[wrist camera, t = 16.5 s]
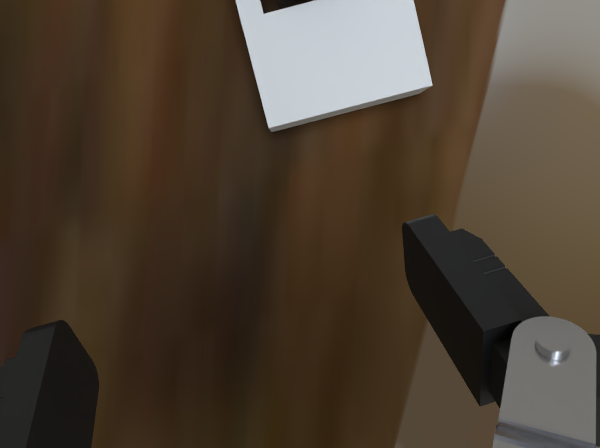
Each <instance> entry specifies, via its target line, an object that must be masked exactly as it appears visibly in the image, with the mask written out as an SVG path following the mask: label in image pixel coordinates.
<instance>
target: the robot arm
mask: <svg viewBox="0 0 600 448" xmlns="http://www.w3.org/2000/svg"><path fill="white" fill-rule="evenodd" d="M402 234H403V247H404V260H405V271H406V277H407V281H408V284H409V287H410V289H411V292H412V294H413V296H414V297H415V299H416V301H417V302H418V304H419V306H420V307H421V309H422V311H423V312H424V314H425V316H426V317H427V319H428V321H429V322H430V324H431V326H432V327H433V329H434V331H435V332H436V334H437V336H438V337H439V339H440V341H441V342H442V344H443V346H444V347H445V349H446V351H447V352H448V354H449V356H450V357H451V359H452V361H453V363H454V364H455V366H456V367H457V369H458V371H459V372H460V374H461V376H462V378H463V379H464V381H465V383H466V384H467V386H468V388H469V389H470V391H471V393H472V394H473V396H474V398H475V399H476V401H477V403H478V404H479V406H483V405H486V404H489V403H492V402H495V401H496V403H497V405H498V406H499V408H500V414H499V420H498V425H497V426H496V431H495V436H494V442H493V448H596V446H598V447H599V446H600V335H593V334H587V333H586V332H585V331H583V329H581V328H580V327H578V326H577V325H575V324H573V323H571V322H569V321H566V320H563V319H560V318H556V317H550V316H549V315H548V314H547V313H546V312H545V311H544V309H543V308H542V307H541V306H540V305H539V304H538V303H537V301H536V300H535V299H534V298H533V297H532V296H531V295H530V294H529V292H528V291H527V290H526V289H525V288H524V287H523V286H522V285H521V283H520V282H519V281H518V280H517V279H516V278H515V277H514V275H513V274H512V273H511V272H510V271H509V270H508V269H506V268H505V265H504V264H503V263H502V262H501V261H500V260H499V258H498V257H495V255H494V253H493V252H492V250H491V249H490V248H489V247H488V246H487V245H486V244H485V242H484V241H483V240H482V239H481V238H479V237H477V236H475V235H473V234H471V233H469V232H467V231H465V230H464V229H459V230H456V231H452V232H450V231H449V230H448V229H447V228H446V226H445V225H444V224H443V223H442V222H441V220H440V219H439V218H438V217H437V216H436V215H434V214H432V215H429V216H425V217H422V218H418V219H415V220H411V221H408V222H404V223H403V226H402ZM98 391H99V379H98V374H97V370H96V367H95V365H94V362H93V361H92V359H91V358H90V356H89V355H88V353H87V352H86V350H85V349H84V347H83V346H82V344H81V343H80V341H79V340H78V338H77V337H76V335H75V334H74V332H73V331H72V329H71V328H70V326H69V325H68V324H67V323H66V322H65V321H63V320H59V321H56V322H52V323H49V324H45V325H42V326H38V327H35V328H31V329H28V330H26V331H25V333H24V335H23V337H22V340H21V344H20V347H19V350H18V353H17V356H16V357H14V358H10V359H7V361H6V362H5V363H4V365H3V366H2V367H1V369H0V448H91V444H92V437H93V429H94V421H95V414H96V406H97V398H98Z"/></svg>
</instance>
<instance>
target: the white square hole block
mask: <svg viewBox="0 0 600 448" xmlns="http://www.w3.org/2000/svg"><path fill="white" fill-rule="evenodd" d="M236 4H237V8H238V12H239V16H240V20H241V24H242V27H243V31H244V35H245V39H246V43H247V47H248V50H249V54H250V58H251V62H252V66H253V70H254V73H255V77H256V81H257V85H258V89H259V93H260V97H261V100H262V104H263V108H264V112H265V116H266V120H267V123H268V127H269V129H270V131H271V132H275V131H279V130H282V129H286V128H290V127H294V126H298V125H302V124H305V123H309V122H313V121H317V120H321V119H325V118H328V117H332V116H336V115H340V114H344V113H348V112H351V111H355V110H359V109H363V108H367V107H371V106H374V105H378V104H382V103H386V102H390V101H394V100H397V99H401V98H405V97H409V96H413V95H417V94H420V93H421V92H423V91H424V90H426V89H427V88H429V87H431V86H432V81H431V76H430V72H429V67H428V63H427V58H426V54H425V49H424V45H423V41H422V36H421V32H420V27H419V23H418V18H417V14H416V9H415V5H414V0H314V1H311V2H307V3H303V4H299V5H296V6H292V7H288V8H284V9H281V10H277V11H273V12H269V13H266V14H264V13H263V9H262V5H261V1H260V0H236Z"/></svg>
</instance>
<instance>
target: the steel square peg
mask: <svg viewBox="0 0 600 448" xmlns="http://www.w3.org/2000/svg"><path fill="white" fill-rule="evenodd" d="M311 1H314V0H278V3H279V7H280V10H281V9H284V8H288V7H292V6H296V5H299V4H303V3H307V2H311Z"/></svg>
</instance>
